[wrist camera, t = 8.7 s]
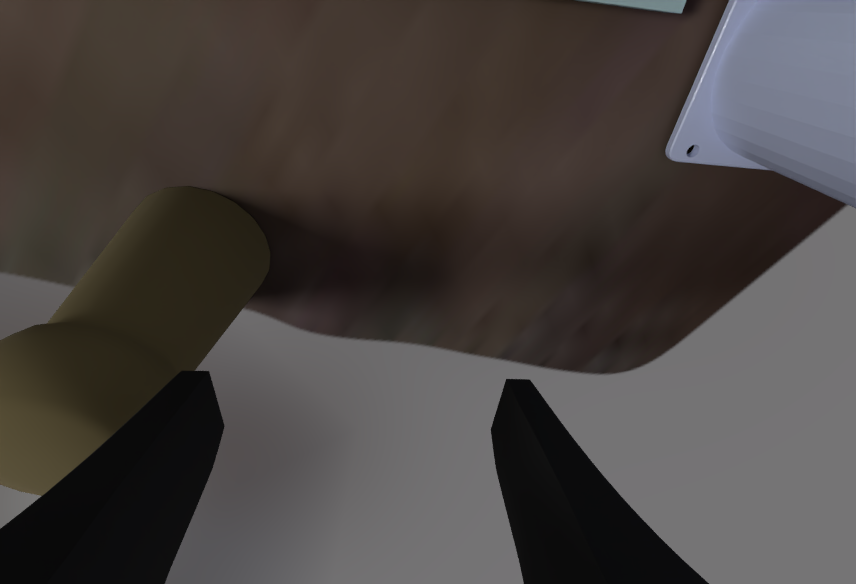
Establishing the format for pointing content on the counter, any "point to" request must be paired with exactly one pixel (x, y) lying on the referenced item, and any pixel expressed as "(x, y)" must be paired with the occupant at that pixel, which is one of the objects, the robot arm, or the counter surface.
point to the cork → (125, 331)
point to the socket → (646, 4)
